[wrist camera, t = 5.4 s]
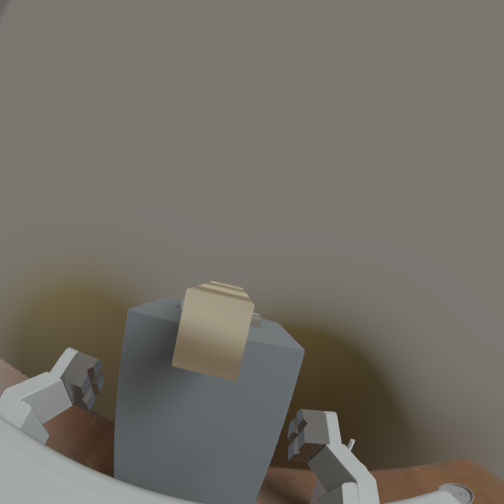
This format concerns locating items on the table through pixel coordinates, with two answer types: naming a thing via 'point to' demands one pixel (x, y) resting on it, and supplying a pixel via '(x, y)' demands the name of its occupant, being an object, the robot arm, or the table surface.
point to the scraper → (214, 329)
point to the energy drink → (458, 492)
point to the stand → (199, 411)
